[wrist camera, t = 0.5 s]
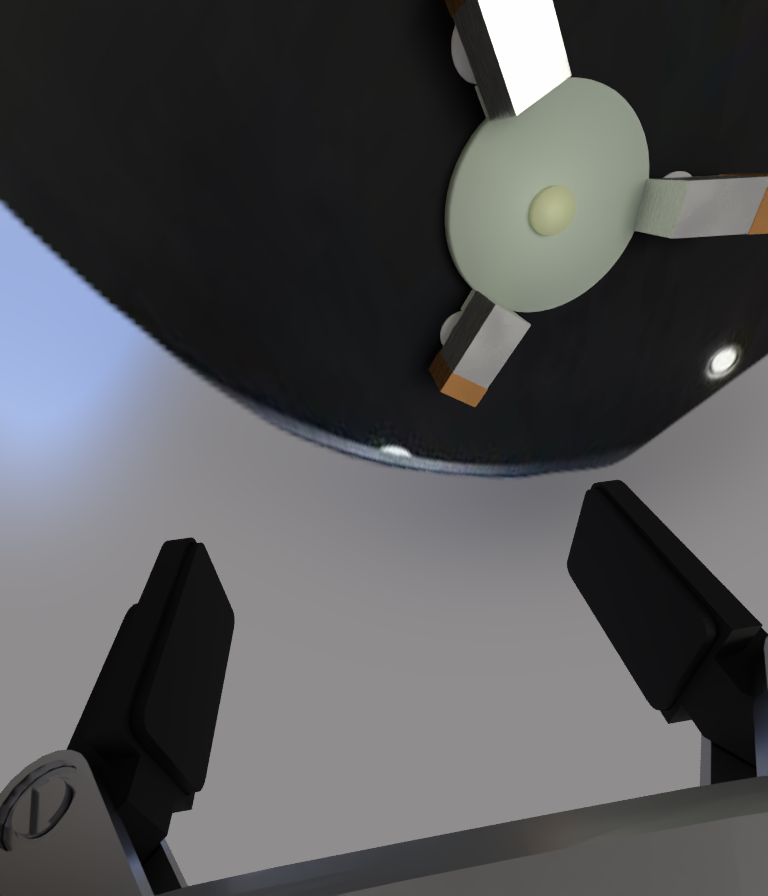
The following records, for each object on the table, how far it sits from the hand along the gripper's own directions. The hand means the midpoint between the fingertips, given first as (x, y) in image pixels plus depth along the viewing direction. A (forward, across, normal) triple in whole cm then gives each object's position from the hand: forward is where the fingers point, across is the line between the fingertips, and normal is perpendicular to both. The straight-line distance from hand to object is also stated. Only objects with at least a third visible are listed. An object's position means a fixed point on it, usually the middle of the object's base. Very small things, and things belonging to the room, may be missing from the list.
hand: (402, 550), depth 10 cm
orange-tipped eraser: (+29, -10, +5) cm, 31 cm away
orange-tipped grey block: (+29, -27, -4) cm, 39 cm away
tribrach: (+29, -17, -3) cm, 34 cm away
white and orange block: (+29, -10, -14) cm, 34 cm away
